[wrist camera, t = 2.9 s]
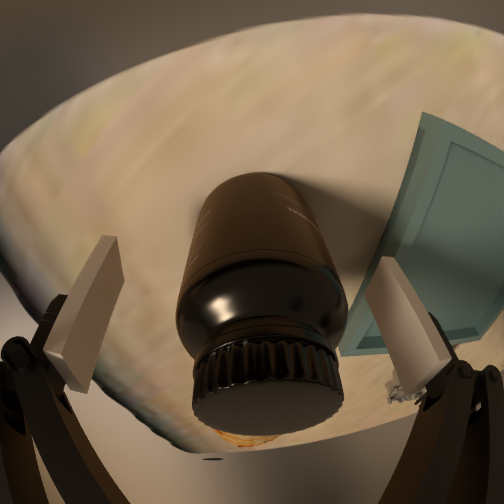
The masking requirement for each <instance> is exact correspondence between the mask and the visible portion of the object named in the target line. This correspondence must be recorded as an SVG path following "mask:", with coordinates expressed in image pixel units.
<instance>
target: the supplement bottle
mask: <svg viewBox="0 0 504 504" xmlns="http://www.w3.org/2000/svg"><path fill="white" fill-rule="evenodd" d="M347 321H348V303H347V299H346V295H345V292H344V289H343V286H342V284H341V281H340V278H339V276H338V273H337V271H336V268H335V266H334V263H333V261H332V259H331V256H330V254H329V251H328V249H327V246H326V244H325V242H324V239H323V237H322V235H321V232H320V230H319V228H318V225H317V223H316V221H315V219H314V216H313V214H312V212H311V210H310V208H309V206H308V204H307V202H306V200H305V199H304V197H303V196H302V194H301V193H300V192H299V191H298V190H297V189H296V188H295V187H294V186H293V185H291V184H290V183H288V182H287V181H285V180H283V179H281V178H278V177H276V176H273V175H268V174H262V173H250V174H243V175H239V176H236V177H233V178H231V179H229V180H227V181H225V182H223V183H222V184H220V185H219V186H218V187H216V188H215V189H214V190H213V191H212V192H211V193H210V195H209V196H208V197H207V199H206V200H205V202H204V204H203V206H202V208H201V211H200V214H199V217H198V220H197V224H196V228H195V231H194V235H193V239H192V243H191V247H190V251H189V255H188V259H187V263H186V267H185V271H184V275H183V279H182V283H181V288H180V292H179V297H178V302H177V308H176V328H177V331H178V335H179V337H180V340H181V342H182V344H183V346H184V347H185V349H186V350H187V352H188V353H189V354H190V356H191V357H192V358H193V359H194V360H195V361H194V368H193V379H194V388H193V399H192V409H193V411H194V415H195V416H196V417H198V420H199V421H201V422H203V423H204V424H205V425H207V426H210V427H212V428H213V429H216V430H220V431H222V432H226V433H231V434H236V435H243V436H272V435H282V434H286V433H293V432H296V431H301V430H305V429H307V428H310V427H313V426H315V425H317V424H319V423H322V422H324V421H325V420H326V419H328V418H330V417H332V416H333V414H335V413H336V412H338V410H339V408H340V407H341V406H342V402H343V401H344V393H343V388H342V384H341V379H340V375H339V371H338V368H339V363H338V358H337V355H336V351H335V349H336V348H337V346H338V345H339V343H340V341H341V339H342V337H343V335H344V332H345V329H346V326H347Z"/></svg>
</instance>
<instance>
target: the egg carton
mask: <svg viewBox="0 0 504 504" xmlns="http://www.w3.org/2000/svg"><path fill="white" fill-rule="evenodd" d="M454 352H455V354H456V351H454ZM392 374H393V380H391V381H389V382H387V383H386V384H385V386H386V388H387V390H388V396H389V398H388V397H387V400H388V404H391V403H392V401H398V402H399V403H402V402H403V401H405V400H406V401H409V400H412V399H415V400H416V399H417V398H418V397H421V396H422V395H423V394H424V393H425V392H427V390H426V388H425V387H424V388H423V389H422V390H421V391H420V392H419V393H417V394H413V395H409V396H405V394H404V392H403V389H402V386H401V383H400V381H399V378H398V375H397V372H396V370H395V369H394V370H393V373H392Z"/></svg>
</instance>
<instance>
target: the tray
mask: <svg viewBox="0 0 504 504" xmlns="http://www.w3.org/2000/svg"><path fill="white" fill-rule="evenodd" d="M382 256H384V257H394V259H395V260H396V262H397V263H398V265H399V266H400V268H401V269H402V271H403V273H404V274H405V276H406V277H407V279H408V280H409V282H410V284H411V285H412V287H413V289H414V290H415V292H416V293H417V295H418V297H419V299H420V300H421V302H422V304H423V305H424V307H425V309H426V311H427V312H430V313H431V314H432V315H433V316H434V317H435V318H436V319H437V320H438V322H439V324H440V325H441V327H442V330H443V331H444V333H445V336H447V338H448V340H449V342H450V344H451V345H456V344H461V343H467V342H472V341H477V340H480V339H481V338H482V336H483V335H484V334H485V333H486V331H487V330H488V329H489V328H490V326H491V325H492V324H493V322H494V321H495V320H496V318H497V317H498V316H499V314H500V313H501V311H502V310H503V309H504V152H503V151H502V150H500V149H498V148H497V147H495V146H493V145H491V144H490V143H488V142H486V141H484V140H483V139H481V138H479V137H477V136H475V135H473V134H472V133H470V132H468V131H466V130H464V129H462V128H460V127H458V126H456V125H454V124H452V123H449V122H447V121H445V120H443V119H440V118H438V117H435V116H433V115H430V114H428V113H425V112H422V116H421V120H420V124H419V128H418V131H417V135H416V139H415V142H414V146H413V149H412V153H411V156H410V159H409V163H408V166H407V169H406V172H405V175H404V178H403V181H402V184H401V187H400V190H399V193H398V196H397V199H396V202H395V205H394V207H393V210H392V213H391V216H390V218H389V221H388V223H387V226H386V229H385V231H384V234H383V236H382V239H381V241H380V244H379V246H378V248H377V251H376V253H375V256H374V258H373V260H372V263H371V265H370V267H369V270H368V272H367V274H366V276H365V278H364V281H363V283H362V285H361V287H360V289H359V291H358V294H357V296H356V298H355V300H354V302H353V304H352V306H351V308H350V310H349V312H348V321H347V326H346V329H345V332H344V335H343V337H342V339H341V341H340V343H339V345H338V347H339V351H340V355H341V357H342V356H360V355H374V354H386V353H389V352H388V349H387V347H386V345H385V342H384V340H383V337H382V335H381V332H380V330H379V328H378V325H377V323H376V321H375V318H374V316H373V314H372V312H371V309H370V307H369V305H368V303H367V300H366V298H365V296H364V294H365V292H366V290H367V288H368V286H369V284H370V282H371V280H372V277H373V275H374V273H375V271H376V269H377V267H378V264H379V262H380V260H381V258H382Z"/></svg>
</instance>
